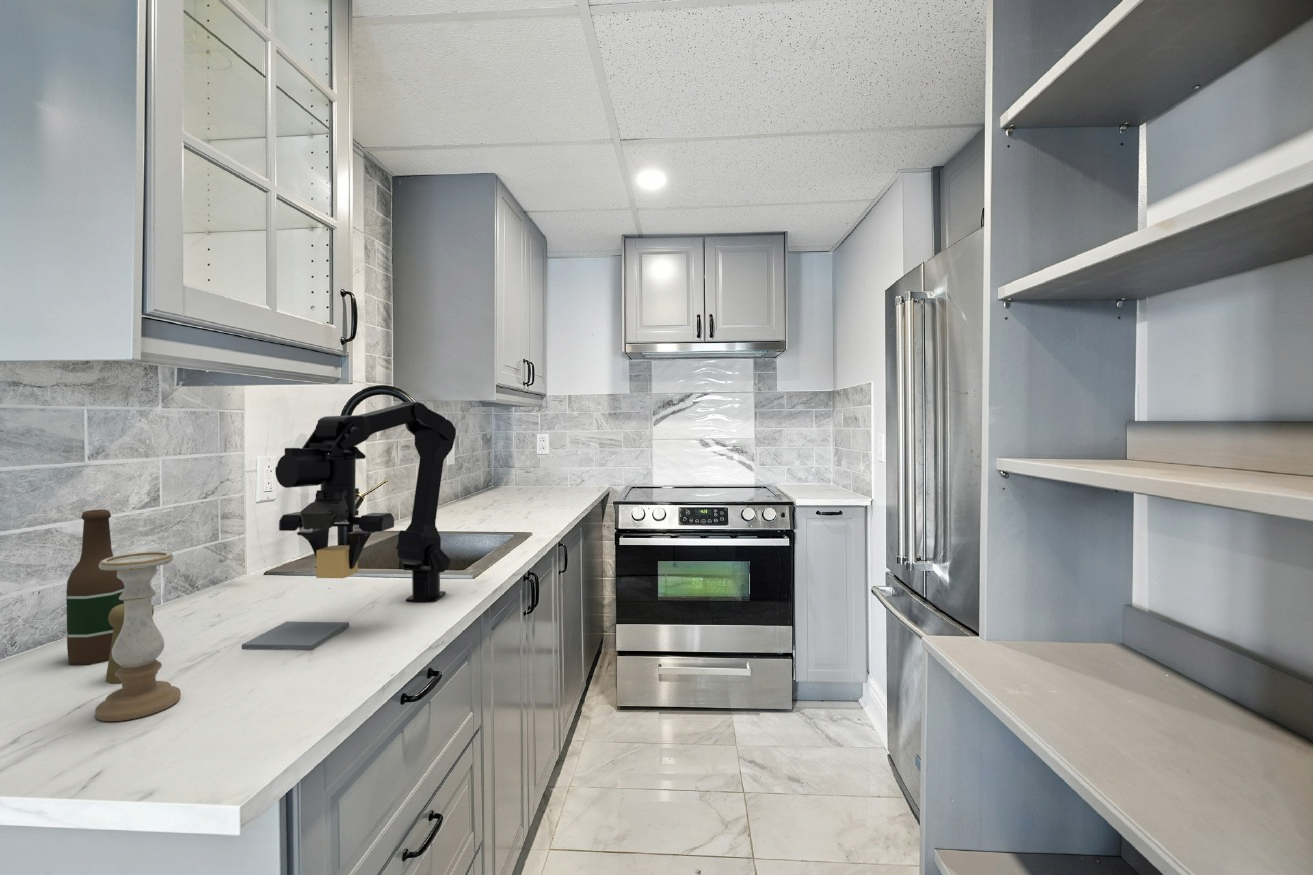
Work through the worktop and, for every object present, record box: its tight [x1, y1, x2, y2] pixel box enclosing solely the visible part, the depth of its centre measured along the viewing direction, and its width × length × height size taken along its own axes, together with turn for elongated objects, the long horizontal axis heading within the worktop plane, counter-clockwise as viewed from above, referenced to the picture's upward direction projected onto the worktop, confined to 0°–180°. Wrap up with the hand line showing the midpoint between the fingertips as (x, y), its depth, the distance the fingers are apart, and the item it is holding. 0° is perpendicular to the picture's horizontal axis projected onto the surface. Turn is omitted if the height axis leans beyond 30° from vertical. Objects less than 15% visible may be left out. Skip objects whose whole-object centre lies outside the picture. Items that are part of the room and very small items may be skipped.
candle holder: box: [94, 551, 182, 722], centre depth 82 cm, size 9×9×20 cm
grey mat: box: [241, 620, 350, 651], centre depth 109 cm, size 12×12×1 cm
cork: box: [105, 604, 155, 685], centre depth 92 cm, size 6×6×11 cm
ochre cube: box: [315, 544, 359, 579], centre depth 112 cm, size 5×5×5 cm
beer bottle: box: [65, 509, 125, 666], centre depth 99 cm, size 8×8×24 cm
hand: (337, 568), depth 112 cm, fingers closed on ochre cube, 5 cm apart
